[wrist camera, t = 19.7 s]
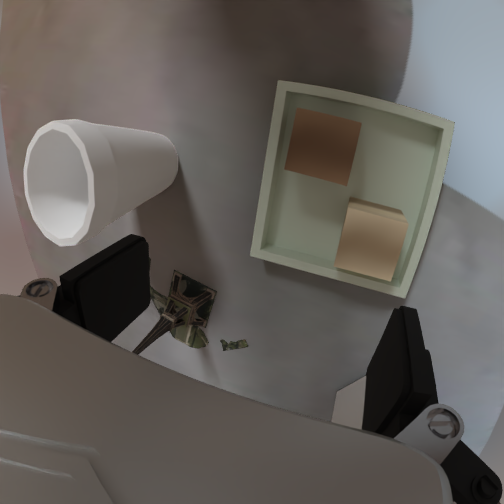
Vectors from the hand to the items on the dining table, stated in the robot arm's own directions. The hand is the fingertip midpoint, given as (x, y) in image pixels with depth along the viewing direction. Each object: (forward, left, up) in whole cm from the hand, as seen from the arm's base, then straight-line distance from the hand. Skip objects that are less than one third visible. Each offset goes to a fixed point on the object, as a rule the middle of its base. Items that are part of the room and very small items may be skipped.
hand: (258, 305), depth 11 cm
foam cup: (-1, -17, -18) cm, 25 cm away
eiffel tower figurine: (+14, -12, -19) cm, 26 cm away
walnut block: (-5, 0, -17) cm, 18 cm away
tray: (-2, +2, -18) cm, 18 cm away
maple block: (+1, +5, -17) cm, 18 cm away
